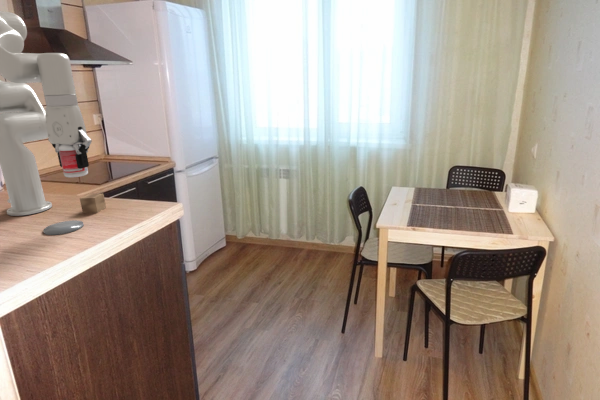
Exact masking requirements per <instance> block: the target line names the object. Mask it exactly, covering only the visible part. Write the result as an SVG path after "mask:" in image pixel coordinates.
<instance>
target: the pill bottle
mask: <svg viewBox="0 0 600 400" xmlns="http://www.w3.org/2000/svg"><path fill="white" fill-rule="evenodd" d="M76 143H77V142H76ZM78 146H79V148H80V147H81V145H78ZM59 154H60V158H61V163H62V167H61V168H62V172H63V176H64V177H65V178H69V179H70V178H78V177H83V176H87V175H88V174H89V169H88V168H89V167H85V168H81V169H79V168H78V166H77V161H76V154H77V153H76V151H75V149H74V147H73V145H60V146H59Z"/></svg>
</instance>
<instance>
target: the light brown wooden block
mask: <svg viewBox="0 0 600 400" xmlns="http://www.w3.org/2000/svg"><path fill="white" fill-rule="evenodd" d="M79 202H80V206H81V211H82V214H98V213H100V212H102V211H104V210H105V209H106V208H107V205H106V199H105V195H104V193H87V194H86V195H83V196H82V197H80V198H79ZM101 210H102V211H101Z"/></svg>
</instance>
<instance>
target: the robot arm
mask: <svg viewBox="0 0 600 400" xmlns="http://www.w3.org/2000/svg"><path fill="white" fill-rule="evenodd" d="M27 29H28V28H27V25H26V23H25V22H24V20H23V19H22V17H20V16H19V15H17V14H16V13H14V12H10V11H1V10H0V76H2V78H4V79H5V80H7V81H3V80H1V79H0V169H1V172H2V173H1V174H2V177H3V181H4V184H5V187H6V191H7V195H8V199H7V203H9V204H10V208H8V209H7V210H6V214H7V215H8V216H12V217H13V216H14V217H15V216H16V217H18V216H19V217H20V216H28V215H34V214H38V213H42V212H45V211H47V210H49V209H51V208H52V207H53V204H52V202H51V201H49V200H46V198H45V193H44V189H43V185H42V180H41V176H40V173H39V169H38V163H37V162H36V161H37V160H36V156H35V154H34V153H33V152H32V151H31V150H30V148H28V147H26V145H25V143H27V142H35V141H39V140H40V141H42V140H46V139H48V140H47V141H48V142H50V144H51V145H52V147H53V148H54V149H55V150H54V151H55V153H56V154H57V159H58V163H59V166H60V167H61V168H62V163H61V158H60V154H59V146H60V145H73V147H74V149H75V151H76V153H77V154H76V161H77V166H78V168H79V169H81V168H85V167H87V168H89V166H90V163H89V158H88V152H89V149H90V145H91V144H92V142H93V141H92V138H90V136H88V133H87V128H86V125H85V121H84V117H83V113H82V112H81V108H80V106H79V101H78V97H77V92H76V87H75V81H74V76H73V70H72V66H71V65H72V64H71V59H70V57H69V56H68V55H67V54H65V53H62V52H44V53H43V52H42V53H34V52H31V53H30V52H23V51H24V48H25V47H24V46H25V40H26V39H27V36H28V30H27ZM27 83H28V84H27ZM30 83H31V84H32V83H35V84H36V83H38V84H40V83H41V87H42V91H43V97H44V101H45V106H46V107H45V108H44V105H43V104H42V103H41V101H40V99H39V97H38V95H37V93H36V92H35V91H34V89H33V88H32V87H31V86H30V85H29V84H30ZM76 142H77V143H76ZM78 145H81V147H80V148H79V146H78Z"/></svg>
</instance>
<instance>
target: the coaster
mask: <svg viewBox="0 0 600 400" xmlns="http://www.w3.org/2000/svg"><path fill="white" fill-rule="evenodd" d="M84 226H85V225H84V222H83V221H81V220H73V219H72V220H65V221H64V220H63V221H60V222H59V221H58V222H55V223H52V224H50V225H47V226H46V227H44V228H43V230H42V232H43V234H44V235H46V236H59V235H65V234H69V233H73V232H75V231H79V230H80V229H81V228H83V227H84Z"/></svg>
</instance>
